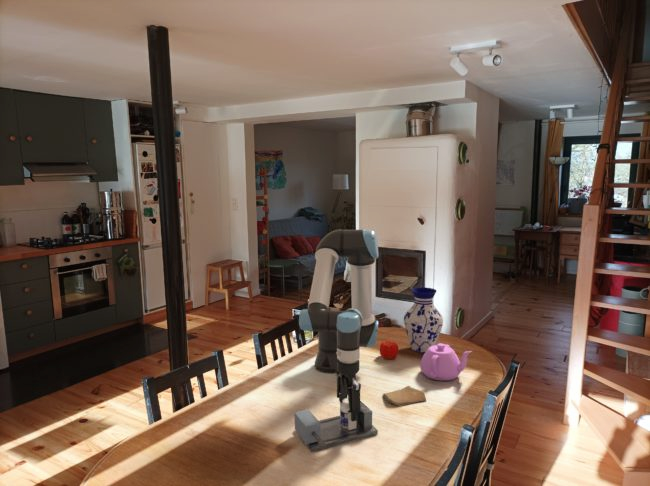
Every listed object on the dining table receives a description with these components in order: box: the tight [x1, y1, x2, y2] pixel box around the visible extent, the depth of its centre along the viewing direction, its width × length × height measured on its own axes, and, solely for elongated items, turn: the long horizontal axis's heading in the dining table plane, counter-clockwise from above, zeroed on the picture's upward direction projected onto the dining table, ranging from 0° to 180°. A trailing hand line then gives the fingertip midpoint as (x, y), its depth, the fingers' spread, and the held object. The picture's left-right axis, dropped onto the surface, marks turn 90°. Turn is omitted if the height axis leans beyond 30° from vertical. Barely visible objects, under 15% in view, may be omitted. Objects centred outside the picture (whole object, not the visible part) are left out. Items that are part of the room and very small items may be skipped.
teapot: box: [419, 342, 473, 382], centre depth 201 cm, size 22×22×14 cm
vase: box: [403, 286, 444, 354], centre depth 231 cm, size 19×19×30 cm
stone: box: [382, 385, 427, 407], centre depth 182 cm, size 11×16×3 cm
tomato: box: [379, 340, 399, 360], centre depth 222 cm, size 9×9×8 cm
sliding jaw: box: [294, 408, 325, 448], centre depth 150 cm, size 18×5×6 cm, turn 25°
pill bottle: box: [339, 397, 350, 429], centre depth 159 cm, size 5×5×9 cm
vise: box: [295, 400, 379, 453], centre depth 158 cm, size 14×24×8 cm, turn 115°
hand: (348, 424), depth 160 cm, fingers closed on pill bottle, 5 cm apart
